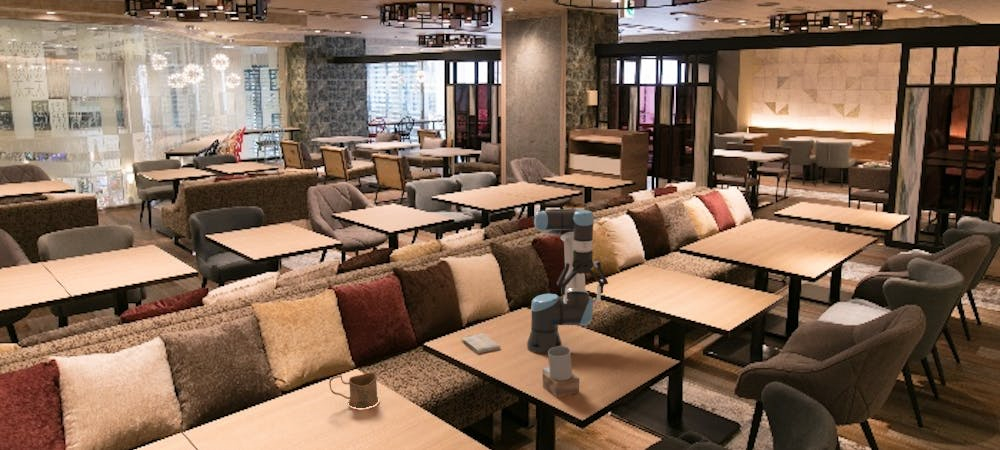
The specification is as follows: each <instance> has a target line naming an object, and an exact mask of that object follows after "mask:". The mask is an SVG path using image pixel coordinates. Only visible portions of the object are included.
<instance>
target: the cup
mask: <svg viewBox="0 0 1000 450" xmlns="http://www.w3.org/2000/svg"><path fill="white" fill-rule="evenodd" d="M571 353H572V352H571V349H570V348H569V347H568V346H563V345H562V346H557V347H553V348H551V349H549V351H548V367H549V368H550V378H552V379H553V380H557V381H563V380H567V379H569V378H571V377H572V374H573V368H572V355H571Z"/></svg>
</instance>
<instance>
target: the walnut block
mask: <svg viewBox="0 0 1000 450" xmlns="http://www.w3.org/2000/svg"><path fill="white" fill-rule="evenodd" d="M542 388H543V389H544V390H545V391H547V392H548V393H549V394H551V395H552V396H553V397H554V398H556V399H559V398H562V397H566V395H567V396H570V394H571V395H574V393H575V394H579V393H580V377H578V376H577V375H575V374H574V373H572V377H571V378H569V379H567V380H563V381H557V380H553V379H552V378H550V372H548V373H543V372H542ZM578 392H579V393H578Z"/></svg>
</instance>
